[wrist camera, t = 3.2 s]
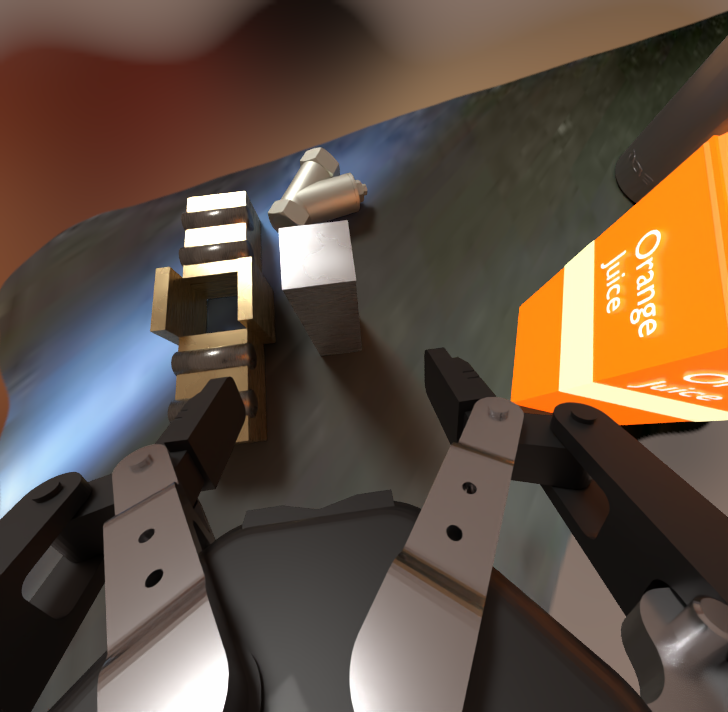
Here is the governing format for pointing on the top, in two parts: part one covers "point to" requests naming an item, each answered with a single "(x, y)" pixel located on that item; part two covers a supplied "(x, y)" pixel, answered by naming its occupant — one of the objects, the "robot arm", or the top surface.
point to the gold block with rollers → (209, 281)
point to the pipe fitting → (317, 193)
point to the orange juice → (640, 309)
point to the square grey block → (322, 284)
